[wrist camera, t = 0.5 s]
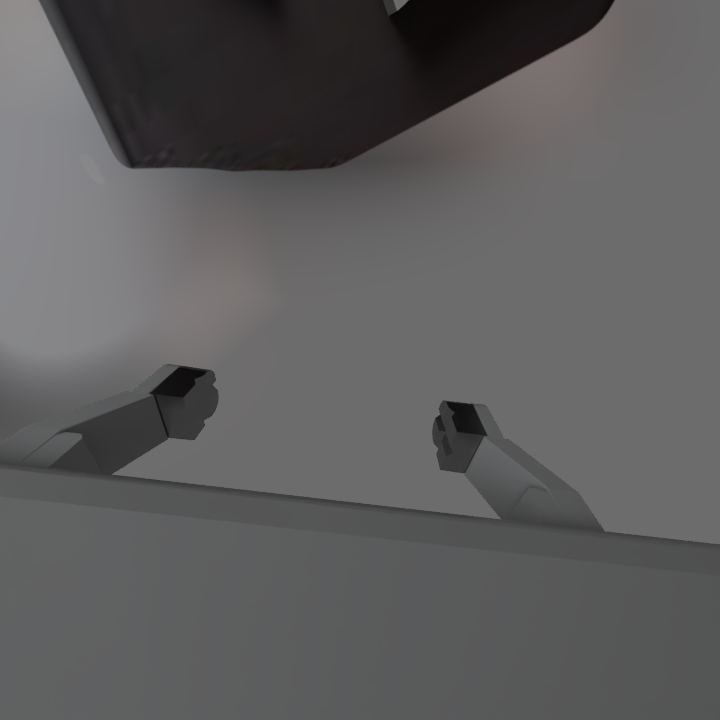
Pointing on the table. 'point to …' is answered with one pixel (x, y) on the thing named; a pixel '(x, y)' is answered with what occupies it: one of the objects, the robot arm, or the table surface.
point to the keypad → (393, 5)
